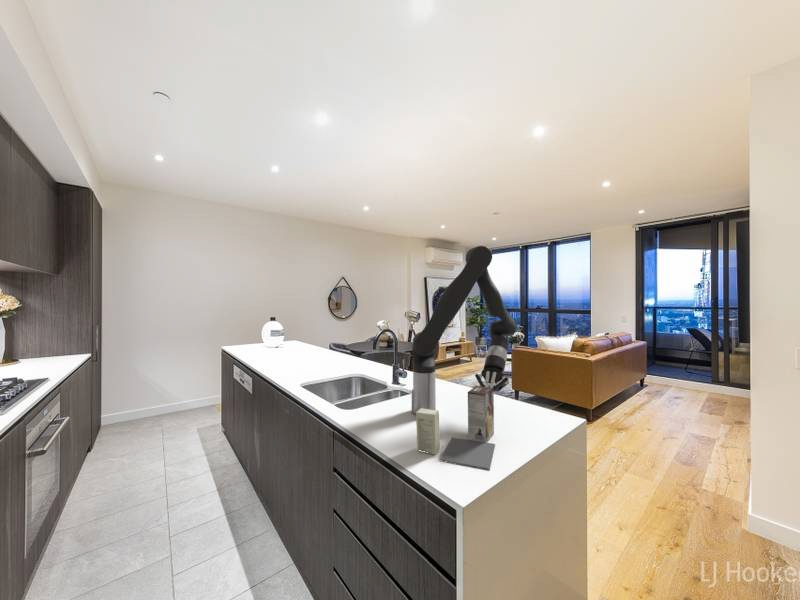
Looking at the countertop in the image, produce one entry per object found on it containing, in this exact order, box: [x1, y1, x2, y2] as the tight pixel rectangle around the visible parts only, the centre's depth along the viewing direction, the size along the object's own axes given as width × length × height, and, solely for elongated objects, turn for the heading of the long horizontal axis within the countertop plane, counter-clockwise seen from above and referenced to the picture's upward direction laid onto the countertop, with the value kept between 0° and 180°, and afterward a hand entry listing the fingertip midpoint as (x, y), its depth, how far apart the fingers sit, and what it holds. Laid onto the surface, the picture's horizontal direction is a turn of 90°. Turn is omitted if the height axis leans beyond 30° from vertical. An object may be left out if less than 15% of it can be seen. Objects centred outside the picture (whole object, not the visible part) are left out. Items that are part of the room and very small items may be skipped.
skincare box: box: [415, 408, 441, 455], centre depth 99 cm, size 6×4×12 cm
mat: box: [439, 436, 496, 471], centre depth 97 cm, size 14×16×1 cm
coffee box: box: [467, 385, 495, 443], centre depth 108 cm, size 9×6×16 cm
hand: (487, 399), depth 114 cm, fingers closed
